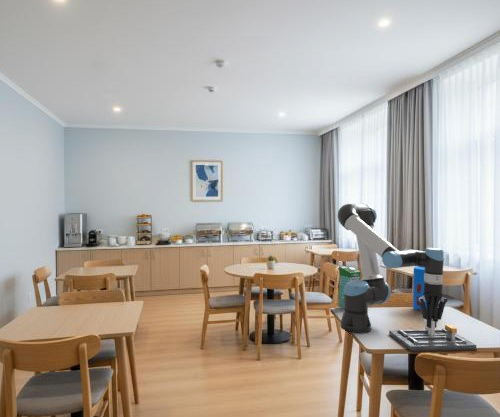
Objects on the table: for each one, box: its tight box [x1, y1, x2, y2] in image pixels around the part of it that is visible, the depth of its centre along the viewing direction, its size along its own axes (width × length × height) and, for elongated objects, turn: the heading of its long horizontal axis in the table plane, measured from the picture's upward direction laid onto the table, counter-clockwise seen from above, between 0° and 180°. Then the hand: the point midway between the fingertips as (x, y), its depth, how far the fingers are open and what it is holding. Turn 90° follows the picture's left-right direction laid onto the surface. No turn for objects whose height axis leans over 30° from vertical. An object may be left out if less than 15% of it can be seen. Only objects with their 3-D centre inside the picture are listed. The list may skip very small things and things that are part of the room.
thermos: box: [412, 266, 427, 312], centre depth 221 cm, size 11×11×25 cm
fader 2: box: [444, 324, 458, 341], centre depth 164 cm, size 2×5×6 cm, turn 5°
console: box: [388, 328, 477, 352], centre depth 168 cm, size 30×20×3 cm
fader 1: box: [423, 318, 428, 333], centre depth 173 cm, size 2×5×6 cm, turn 5°
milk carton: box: [338, 265, 362, 309], centre depth 222 cm, size 9×9×25 cm
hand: (431, 334), depth 164 cm, fingers closed
